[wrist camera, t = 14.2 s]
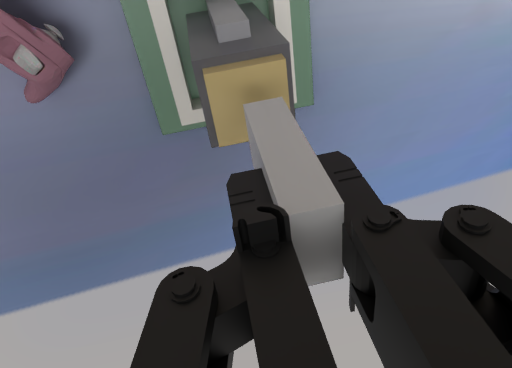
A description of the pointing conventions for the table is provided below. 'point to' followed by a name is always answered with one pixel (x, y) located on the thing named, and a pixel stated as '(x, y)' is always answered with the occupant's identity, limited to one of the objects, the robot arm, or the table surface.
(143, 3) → the green square tray
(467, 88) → the table surface
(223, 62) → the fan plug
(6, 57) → the video game controller
